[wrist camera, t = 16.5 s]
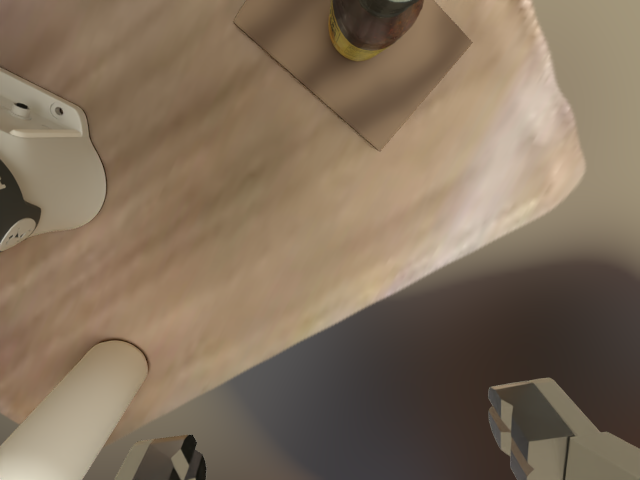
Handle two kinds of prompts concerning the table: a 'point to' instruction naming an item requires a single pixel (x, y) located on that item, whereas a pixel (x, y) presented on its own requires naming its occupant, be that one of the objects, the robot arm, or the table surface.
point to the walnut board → (357, 76)
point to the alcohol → (75, 416)
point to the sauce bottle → (369, 25)
